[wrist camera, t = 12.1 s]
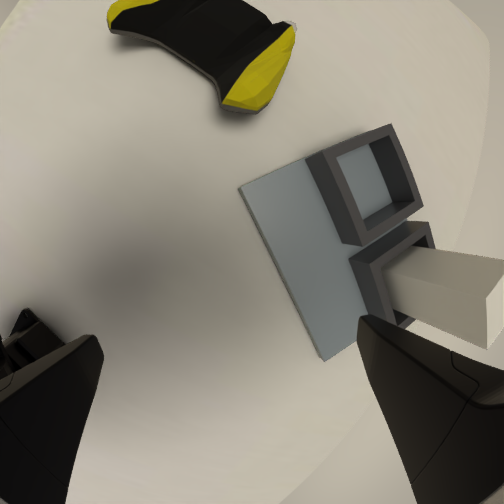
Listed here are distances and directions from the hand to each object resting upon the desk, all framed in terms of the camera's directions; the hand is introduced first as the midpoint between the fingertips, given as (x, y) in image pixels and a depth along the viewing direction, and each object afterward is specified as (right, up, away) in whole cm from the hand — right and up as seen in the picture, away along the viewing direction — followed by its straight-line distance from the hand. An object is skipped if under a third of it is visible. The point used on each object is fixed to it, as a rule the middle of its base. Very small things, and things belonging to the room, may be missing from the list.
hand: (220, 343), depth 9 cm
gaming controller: (-3, +20, +11) cm, 23 cm away
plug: (+14, +1, +15) cm, 20 cm away
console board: (+9, +4, +15) cm, 18 cm away
